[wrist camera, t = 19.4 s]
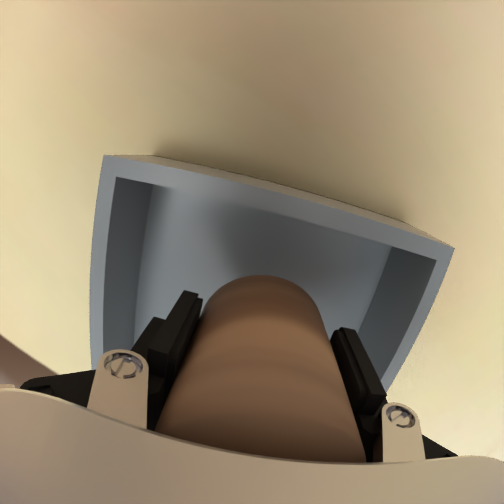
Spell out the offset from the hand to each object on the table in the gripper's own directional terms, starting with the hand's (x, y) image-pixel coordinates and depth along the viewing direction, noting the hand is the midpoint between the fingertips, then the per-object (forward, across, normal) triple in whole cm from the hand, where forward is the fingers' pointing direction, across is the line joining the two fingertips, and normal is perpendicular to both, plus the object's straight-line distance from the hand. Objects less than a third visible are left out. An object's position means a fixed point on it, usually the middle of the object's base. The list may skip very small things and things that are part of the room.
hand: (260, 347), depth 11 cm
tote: (+8, 0, +6) cm, 10 cm away
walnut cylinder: (+1, 0, 0) cm, 1 cm away
